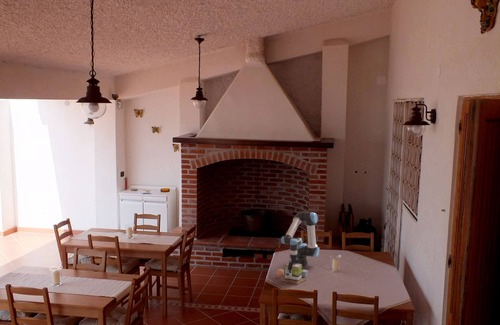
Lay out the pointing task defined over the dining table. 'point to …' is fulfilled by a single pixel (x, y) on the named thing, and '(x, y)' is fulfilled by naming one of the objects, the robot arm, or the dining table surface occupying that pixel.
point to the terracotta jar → (280, 273)
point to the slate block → (304, 273)
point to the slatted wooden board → (293, 281)
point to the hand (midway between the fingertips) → (293, 274)
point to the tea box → (294, 271)
